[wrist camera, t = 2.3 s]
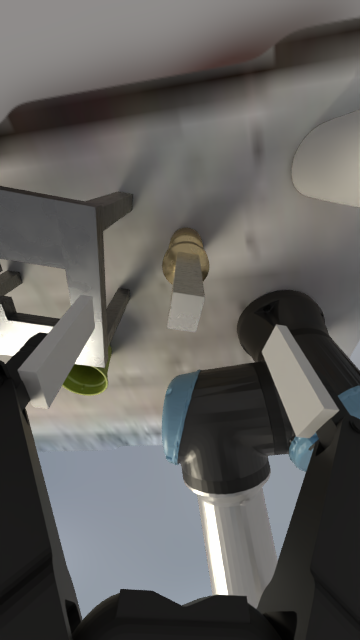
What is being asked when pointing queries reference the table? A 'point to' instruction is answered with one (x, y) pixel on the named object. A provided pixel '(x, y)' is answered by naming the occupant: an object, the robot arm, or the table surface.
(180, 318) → the brass hanging weight
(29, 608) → the robot arm
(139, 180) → the table surface
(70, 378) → the plant pot
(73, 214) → the shelf
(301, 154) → the milk bottle
